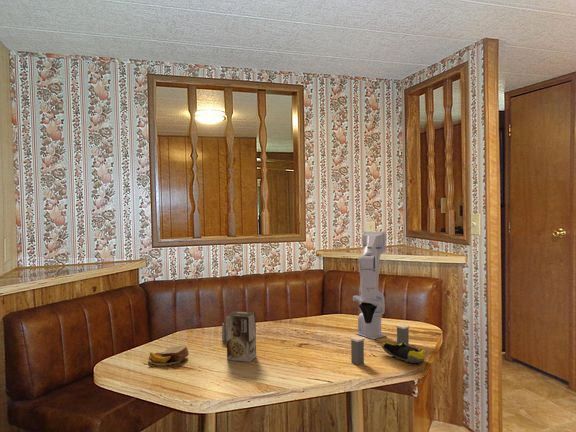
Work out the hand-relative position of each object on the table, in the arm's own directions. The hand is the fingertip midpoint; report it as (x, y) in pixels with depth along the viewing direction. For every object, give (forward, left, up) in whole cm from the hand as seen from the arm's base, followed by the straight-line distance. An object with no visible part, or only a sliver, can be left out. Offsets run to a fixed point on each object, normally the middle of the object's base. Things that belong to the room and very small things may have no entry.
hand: (368, 322), depth 165 cm
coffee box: (-20, -44, -10) cm, 49 cm away
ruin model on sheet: (-40, -35, -10) cm, 54 cm away
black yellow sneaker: (+17, 0, -10) cm, 20 cm away
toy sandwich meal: (-35, -65, -10) cm, 75 cm away
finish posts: (+9, -3, -9) cm, 13 cm away
